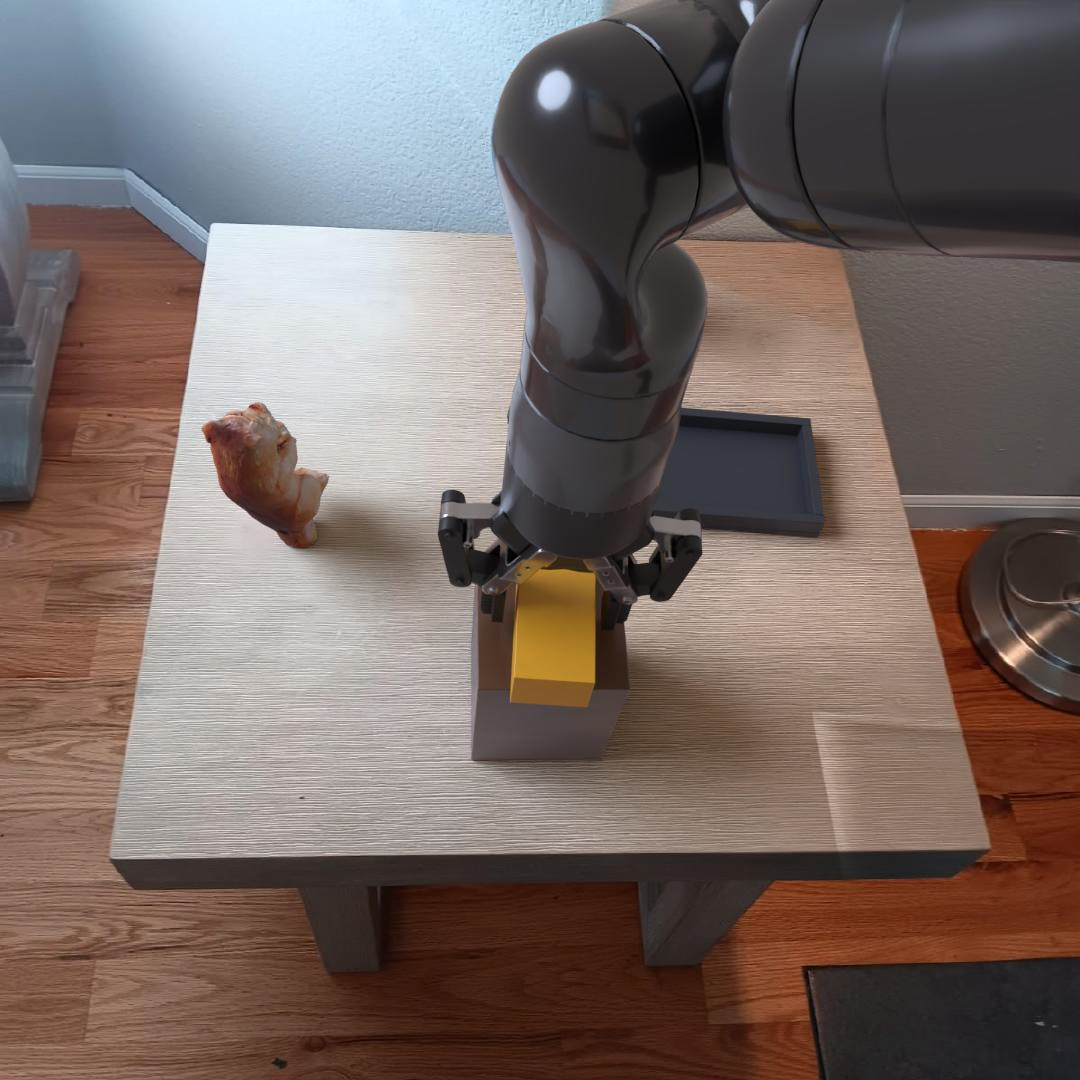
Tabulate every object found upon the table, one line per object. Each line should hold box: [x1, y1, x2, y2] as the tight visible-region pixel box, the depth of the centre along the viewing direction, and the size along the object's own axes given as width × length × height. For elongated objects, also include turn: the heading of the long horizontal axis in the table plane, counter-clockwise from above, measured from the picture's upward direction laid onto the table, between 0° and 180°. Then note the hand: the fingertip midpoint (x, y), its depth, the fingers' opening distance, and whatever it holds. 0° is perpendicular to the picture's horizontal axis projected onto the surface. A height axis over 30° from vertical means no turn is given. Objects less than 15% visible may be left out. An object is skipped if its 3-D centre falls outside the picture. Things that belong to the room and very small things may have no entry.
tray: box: [653, 407, 826, 538], centre depth 82 cm, size 11×17×2 cm, turn 88°
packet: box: [510, 569, 596, 707], centre depth 60 cm, size 11×4×4 cm, turn 178°
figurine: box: [200, 401, 330, 549], centre depth 70 cm, size 6×8×15 cm
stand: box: [470, 578, 631, 761], centre depth 66 cm, size 9×9×12 cm
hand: (552, 612), depth 60 cm, fingers open, 6 cm apart
